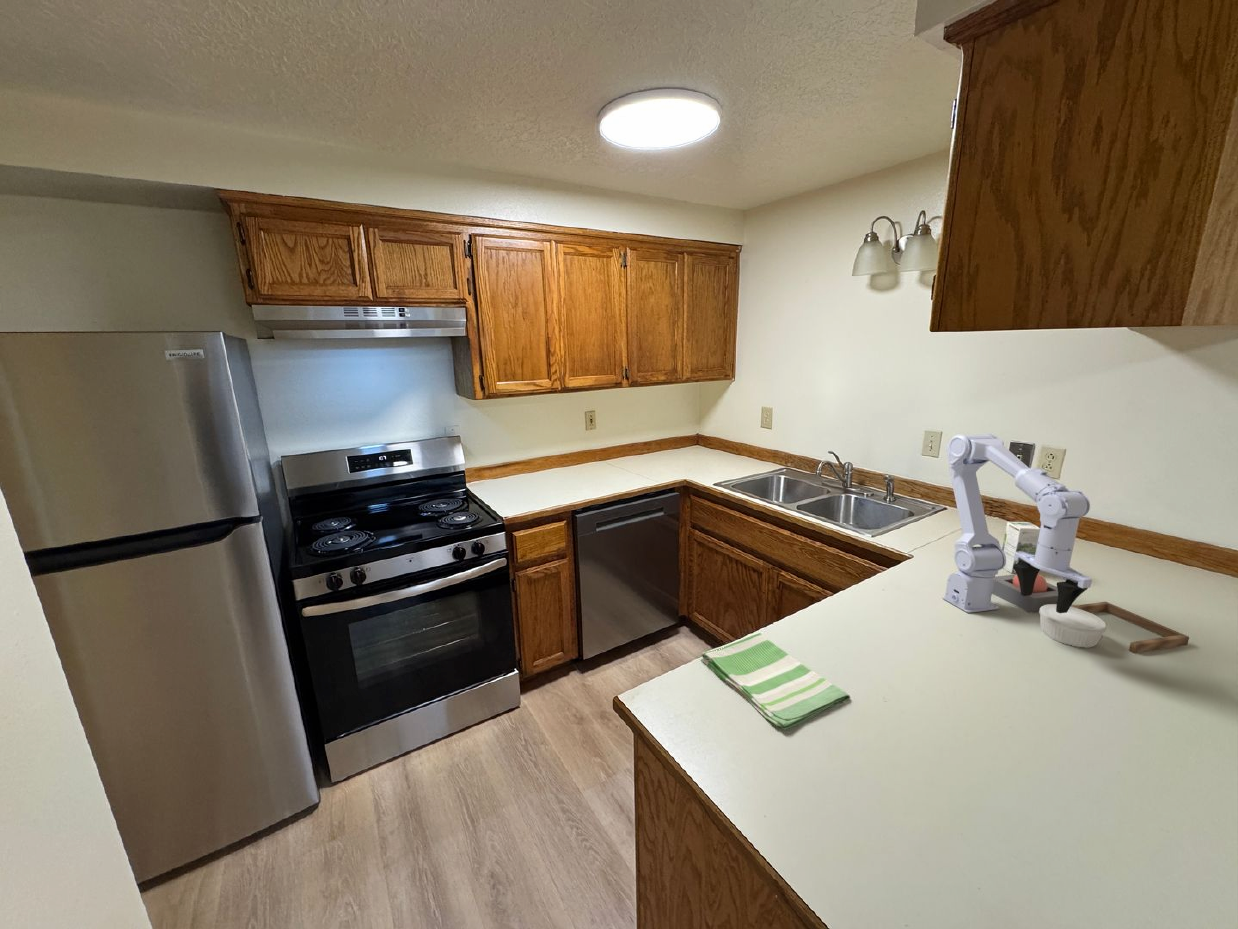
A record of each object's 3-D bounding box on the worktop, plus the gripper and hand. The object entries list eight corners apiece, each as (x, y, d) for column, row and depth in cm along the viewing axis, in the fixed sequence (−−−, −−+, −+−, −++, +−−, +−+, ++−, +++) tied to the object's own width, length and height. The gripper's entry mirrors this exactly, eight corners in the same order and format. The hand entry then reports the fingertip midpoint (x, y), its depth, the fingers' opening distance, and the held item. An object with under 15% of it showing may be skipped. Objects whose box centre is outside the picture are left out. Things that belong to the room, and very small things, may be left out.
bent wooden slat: (1134, 653, 104) (1136, 645, 104) (1055, 615, 120) (1057, 607, 119) (1187, 645, 107) (1189, 636, 107) (1103, 608, 122) (1105, 601, 122)
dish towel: (782, 737, 83) (783, 723, 82) (697, 663, 103) (698, 651, 102) (850, 701, 91) (851, 688, 91) (759, 639, 111) (760, 629, 111)
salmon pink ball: (1029, 604, 123) (1034, 579, 122) (1003, 591, 130) (1007, 567, 128) (1052, 601, 125) (1057, 576, 123) (1025, 589, 131) (1029, 565, 130)
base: (1031, 613, 121) (1033, 598, 120) (986, 590, 132) (989, 577, 131) (1069, 608, 123) (1072, 593, 122) (1023, 586, 134) (1025, 573, 133)
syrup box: (1018, 566, 147) (1027, 521, 144) (1032, 575, 141) (1042, 528, 138) (998, 565, 148) (1006, 520, 144) (1011, 574, 142) (1020, 527, 139)
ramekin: (1043, 643, 108) (1047, 621, 107) (1030, 619, 118) (1033, 599, 117) (1110, 657, 103) (1116, 634, 102) (1091, 631, 113) (1095, 610, 112)
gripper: (1109, 557, 98) (1094, 618, 101) (1035, 532, 112) (1025, 586, 115) (1080, 560, 96) (1067, 622, 99) (1010, 534, 110) (1000, 589, 113)
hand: (1043, 603), depth 107 cm, fingers open, 7 cm apart
